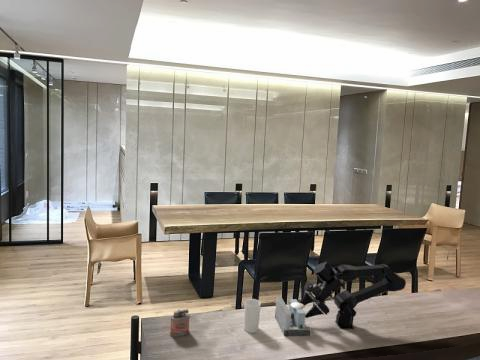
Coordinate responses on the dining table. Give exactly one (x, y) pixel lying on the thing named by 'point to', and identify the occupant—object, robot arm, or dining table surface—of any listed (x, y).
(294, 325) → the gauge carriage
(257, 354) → the dining table surface
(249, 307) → the mug
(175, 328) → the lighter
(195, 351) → the dining table surface
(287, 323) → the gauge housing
